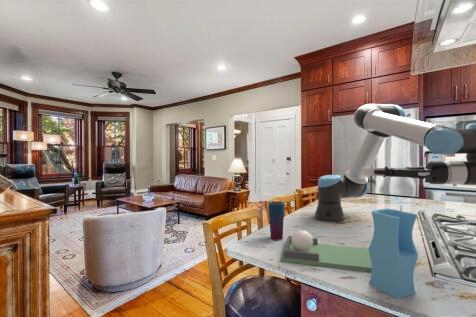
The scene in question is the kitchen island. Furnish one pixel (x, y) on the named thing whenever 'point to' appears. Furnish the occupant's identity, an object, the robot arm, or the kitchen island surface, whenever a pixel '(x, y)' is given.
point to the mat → (336, 257)
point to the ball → (302, 241)
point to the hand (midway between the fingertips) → (363, 171)
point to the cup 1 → (276, 219)
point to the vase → (393, 252)
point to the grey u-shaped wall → (300, 252)
